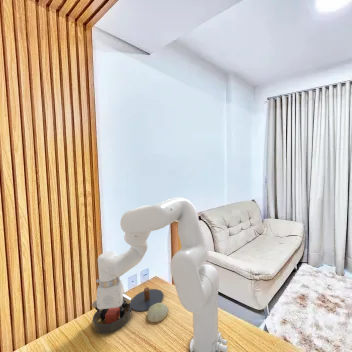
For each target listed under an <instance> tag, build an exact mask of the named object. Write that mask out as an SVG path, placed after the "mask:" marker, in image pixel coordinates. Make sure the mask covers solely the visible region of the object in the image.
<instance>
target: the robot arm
mask: <svg viewBox="0 0 352 352" xmlns="http://www.w3.org/2000/svg"><path fill="white" fill-rule="evenodd" d="M176 221H177V234H178V239H179V242H180V249H179V250H177V252H175V254H174V255H173V256H172V258H171V261H170V275H171V278H172V281H173V284H174V287H175V289H176V290H175V292H176V294H177V297H178V300H179V303H180V305H181V306H182V307H183V308H184V309H185V310H186V311H187V312H190V313H192V329H193V330H192V331H193V334H192V335H193V337H192V339H190V342H189V352H228V350H229V346H228V345H227V344H228V339H224V338H223V336H222V332H220V331H219V288H220V287H219V286H220V275H219V272H218V270H217V269H216V267H215V266H213V265H211V264H208V263H207V264H205V263H206V262H207V260H208V258H209V250H208V247H207V242H206V239H205V236H204V232H203V229H202V227H201V224H200V223H201V222H200V217H199V214H198V211H197V209H196V207H195V205H194V204H193V203H192V201H191V200H189V199H187V198H185V197H180V196H175V197H171V198H168V199H165V200H163V201H159V202H158V203H155V204H152V205H151V204H145V205H141V206H138V207H135V208H133V209H129V210H127V211H126V212H124V213H123V215H122V216H121V218H120V228H121V230H122V231H123V232H124V241H125V243H126V244H128V245H129V246H130V248H129V249H127V250H126V251H124V252H123V253H121V254H119V255H118V252H117V251H114V250H110V251H109V250H108V251H105V252H102V253H101V254H99V256H98V257H97V270H98V278H97V279H96V281H95V283H98V286H97V289H96V299H95V300H94V301H93V302H92V303H91V307H92V308H94V309H95V311H96V312H97V311H99V312H98V313H100V318H99V319H100V320H101V323H103V322H105V315H106V309H109V308H117V307H119V309H120V311H119V314H120V317H119V319H120V318H122V317H123V316H124V315H126V309H125V307H126V306H127V305H128V304H129V303H131V300H132V298H131V297H130V296H128V295H127V294H126V293H125V287H124V283H123V281H122V280H121V277H122V276H123V275H124V274H126V273H127V272H129V271H130V270H132V269H133V268H135V267H137V265H139V264H140V263H141V261H142V260H143V258H144V257H145V255H146V252H147V251H148V238H149V236H150V234H151V233H152V232H154V231H158V230H161V229H163V228H165V227H167V226H169V225H171V224H172V223H174V222H176ZM123 300H126V302H125V303H124V302H123Z"/></svg>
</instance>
